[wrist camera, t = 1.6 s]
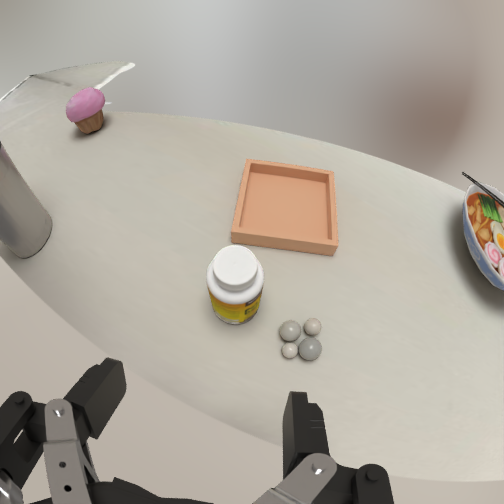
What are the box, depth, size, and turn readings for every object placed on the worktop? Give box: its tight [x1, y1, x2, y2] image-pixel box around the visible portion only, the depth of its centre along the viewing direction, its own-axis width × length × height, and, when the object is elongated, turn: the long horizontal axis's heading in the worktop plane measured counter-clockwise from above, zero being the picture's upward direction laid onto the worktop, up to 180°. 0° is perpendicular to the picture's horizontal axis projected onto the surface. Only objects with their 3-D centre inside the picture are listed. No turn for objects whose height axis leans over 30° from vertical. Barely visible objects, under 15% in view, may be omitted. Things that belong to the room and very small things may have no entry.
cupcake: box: [66, 87, 105, 134], centre depth 47 cm, size 9×9×10 cm
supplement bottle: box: [206, 245, 264, 324], centre depth 29 cm, size 6×6×10 cm
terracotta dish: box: [231, 159, 338, 256], centre depth 40 cm, size 14×14×3 cm
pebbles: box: [280, 318, 322, 360], centre depth 31 cm, size 5×5×3 cm
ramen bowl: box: [462, 172, 504, 291], centre depth 36 cm, size 25×23×8 cm
